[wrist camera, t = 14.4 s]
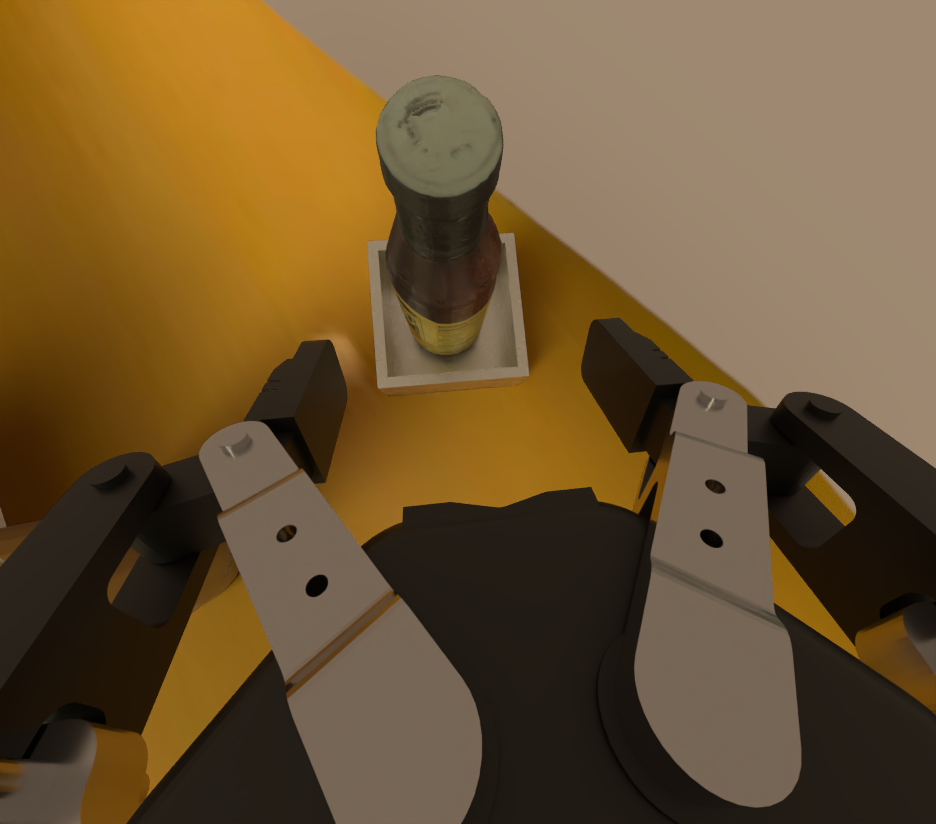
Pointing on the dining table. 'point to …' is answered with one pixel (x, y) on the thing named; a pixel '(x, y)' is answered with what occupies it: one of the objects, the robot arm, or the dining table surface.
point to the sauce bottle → (441, 207)
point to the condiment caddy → (480, 366)
